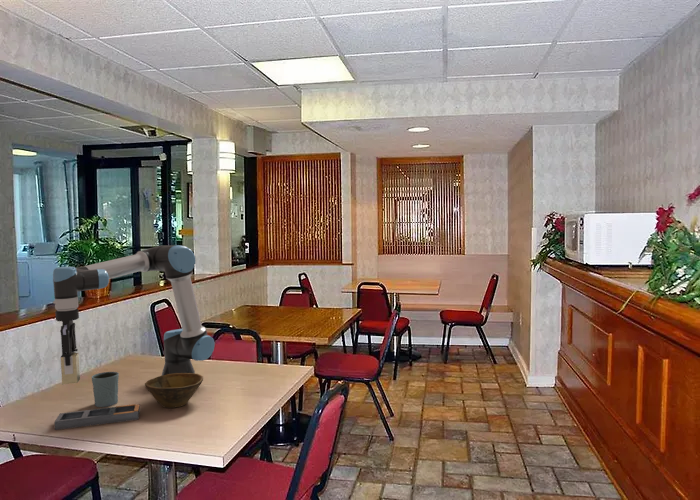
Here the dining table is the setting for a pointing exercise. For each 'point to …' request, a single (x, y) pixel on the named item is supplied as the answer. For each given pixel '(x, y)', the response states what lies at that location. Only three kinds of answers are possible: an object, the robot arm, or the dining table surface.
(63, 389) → the dining table surface
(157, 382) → the bowl
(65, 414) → the grey compartment tray
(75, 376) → the beige recessed-panel block
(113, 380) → the grey-green cup
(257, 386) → the dining table surface
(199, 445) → the dining table surface
